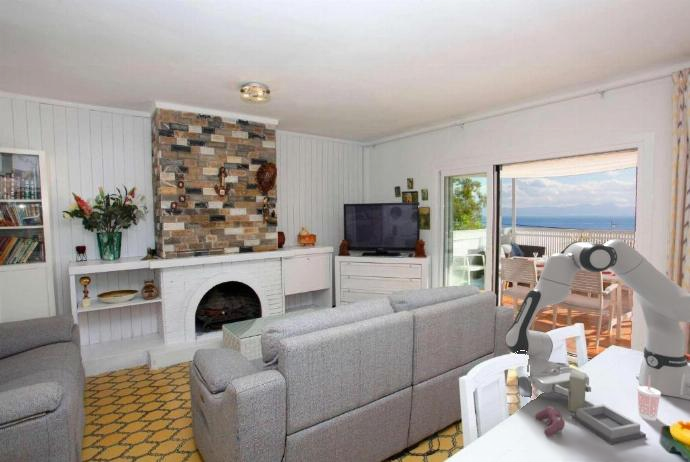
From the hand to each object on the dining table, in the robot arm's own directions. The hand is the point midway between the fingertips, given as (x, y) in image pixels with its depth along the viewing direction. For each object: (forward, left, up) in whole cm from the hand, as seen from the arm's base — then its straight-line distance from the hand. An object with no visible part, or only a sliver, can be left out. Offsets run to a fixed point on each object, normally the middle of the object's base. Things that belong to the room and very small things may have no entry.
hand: (579, 391), depth 125 cm
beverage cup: (-18, +9, -7) cm, 22 cm away
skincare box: (0, -1, -7) cm, 7 cm away
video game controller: (+17, +6, -7) cm, 20 cm away
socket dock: (0, +10, -7) cm, 12 cm away
